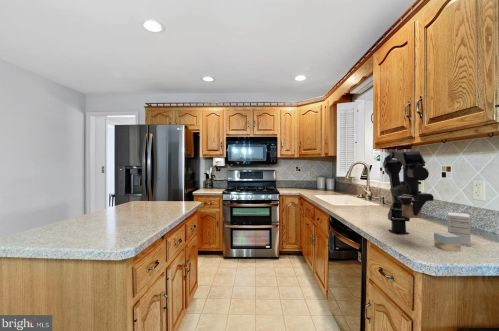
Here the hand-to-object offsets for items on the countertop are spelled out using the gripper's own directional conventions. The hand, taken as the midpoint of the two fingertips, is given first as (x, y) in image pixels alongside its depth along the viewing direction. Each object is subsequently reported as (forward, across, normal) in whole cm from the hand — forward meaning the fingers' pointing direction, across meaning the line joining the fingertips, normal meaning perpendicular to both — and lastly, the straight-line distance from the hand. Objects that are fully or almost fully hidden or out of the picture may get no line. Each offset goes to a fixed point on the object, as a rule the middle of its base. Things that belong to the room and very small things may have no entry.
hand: (411, 214), depth 107 cm
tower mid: (+10, +8, +9) cm, 16 cm away
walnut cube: (+1, 0, 0) cm, 1 cm away
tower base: (+13, +8, +9) cm, 18 cm away
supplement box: (+13, +2, +20) cm, 24 cm away
